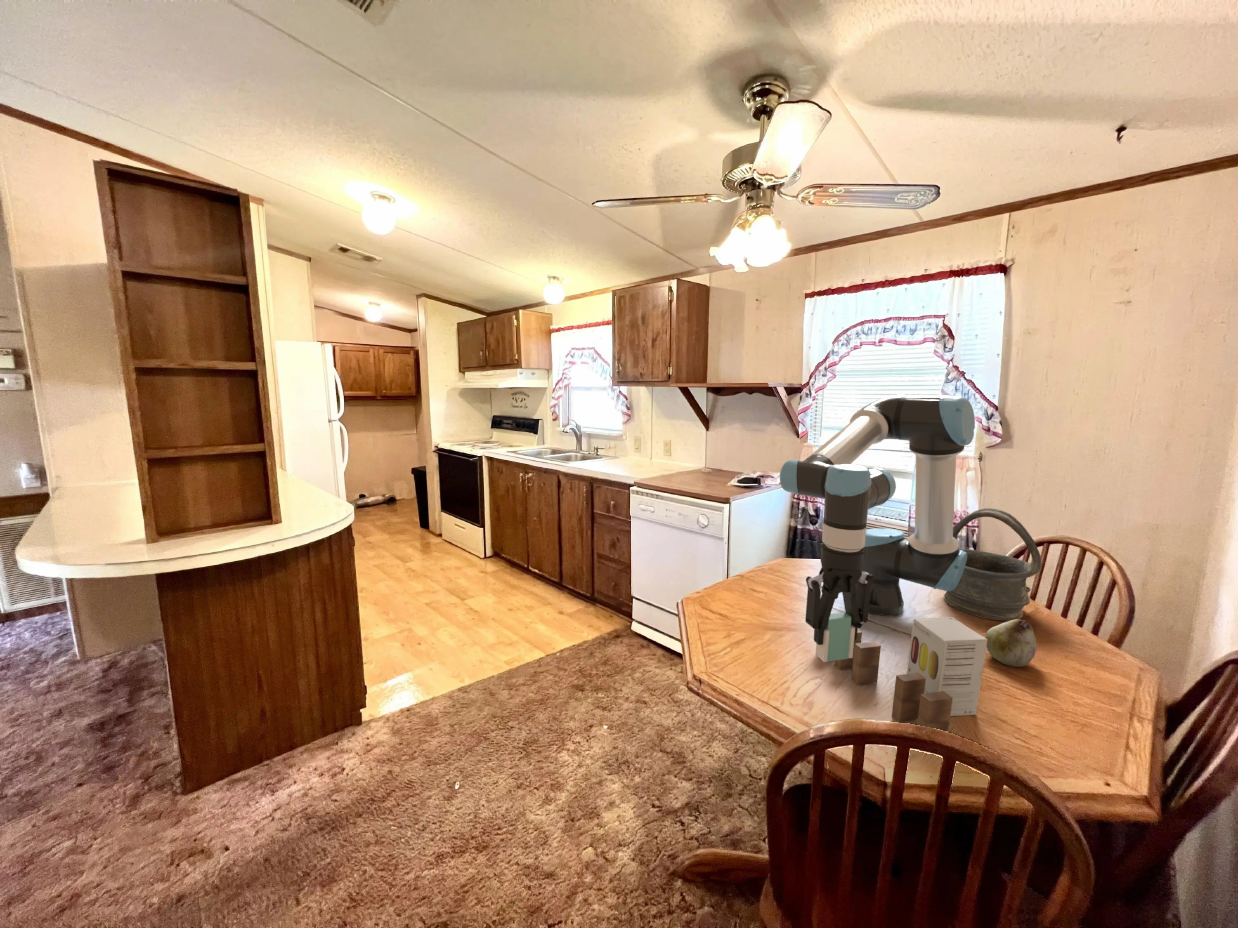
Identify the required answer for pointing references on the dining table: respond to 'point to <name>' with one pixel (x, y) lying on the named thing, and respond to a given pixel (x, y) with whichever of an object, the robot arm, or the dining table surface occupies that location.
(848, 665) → the domino
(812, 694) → the dining table surface
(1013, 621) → the fruit
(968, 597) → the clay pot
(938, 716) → the domino
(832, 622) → the teal domino
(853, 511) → the robot arm
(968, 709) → the supplement box
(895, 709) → the domino
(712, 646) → the dining table surface
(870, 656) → the domino
